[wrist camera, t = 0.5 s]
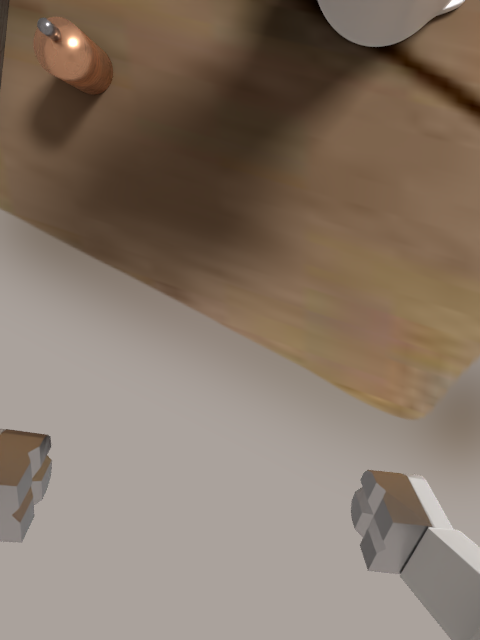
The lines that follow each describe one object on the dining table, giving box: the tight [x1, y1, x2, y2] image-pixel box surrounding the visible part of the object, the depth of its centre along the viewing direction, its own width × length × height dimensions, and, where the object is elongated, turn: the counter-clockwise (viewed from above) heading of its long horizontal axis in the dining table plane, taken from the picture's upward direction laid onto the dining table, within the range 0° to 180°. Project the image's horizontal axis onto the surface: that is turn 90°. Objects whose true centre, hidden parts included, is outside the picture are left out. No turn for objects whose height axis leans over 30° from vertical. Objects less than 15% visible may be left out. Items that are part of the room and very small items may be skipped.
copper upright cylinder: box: [34, 17, 113, 95], centre depth 42 cm, size 5×5×10 cm
